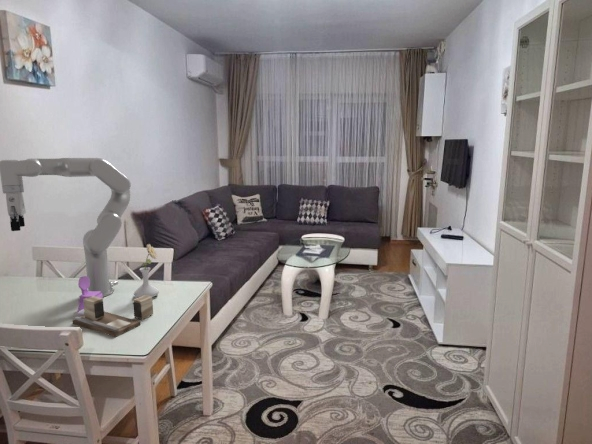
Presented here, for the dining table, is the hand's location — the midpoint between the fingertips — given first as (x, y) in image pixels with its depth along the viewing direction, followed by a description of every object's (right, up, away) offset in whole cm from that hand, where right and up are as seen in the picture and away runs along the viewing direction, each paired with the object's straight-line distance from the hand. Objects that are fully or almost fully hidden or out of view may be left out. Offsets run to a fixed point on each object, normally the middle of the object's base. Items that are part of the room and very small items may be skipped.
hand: (18, 228), depth 178 cm
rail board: (+43, -39, -12) cm, 59 cm away
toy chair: (+30, -36, +3) cm, 47 cm away
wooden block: (+56, -37, -3) cm, 67 cm away
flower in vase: (+49, -33, +20) cm, 62 cm away
